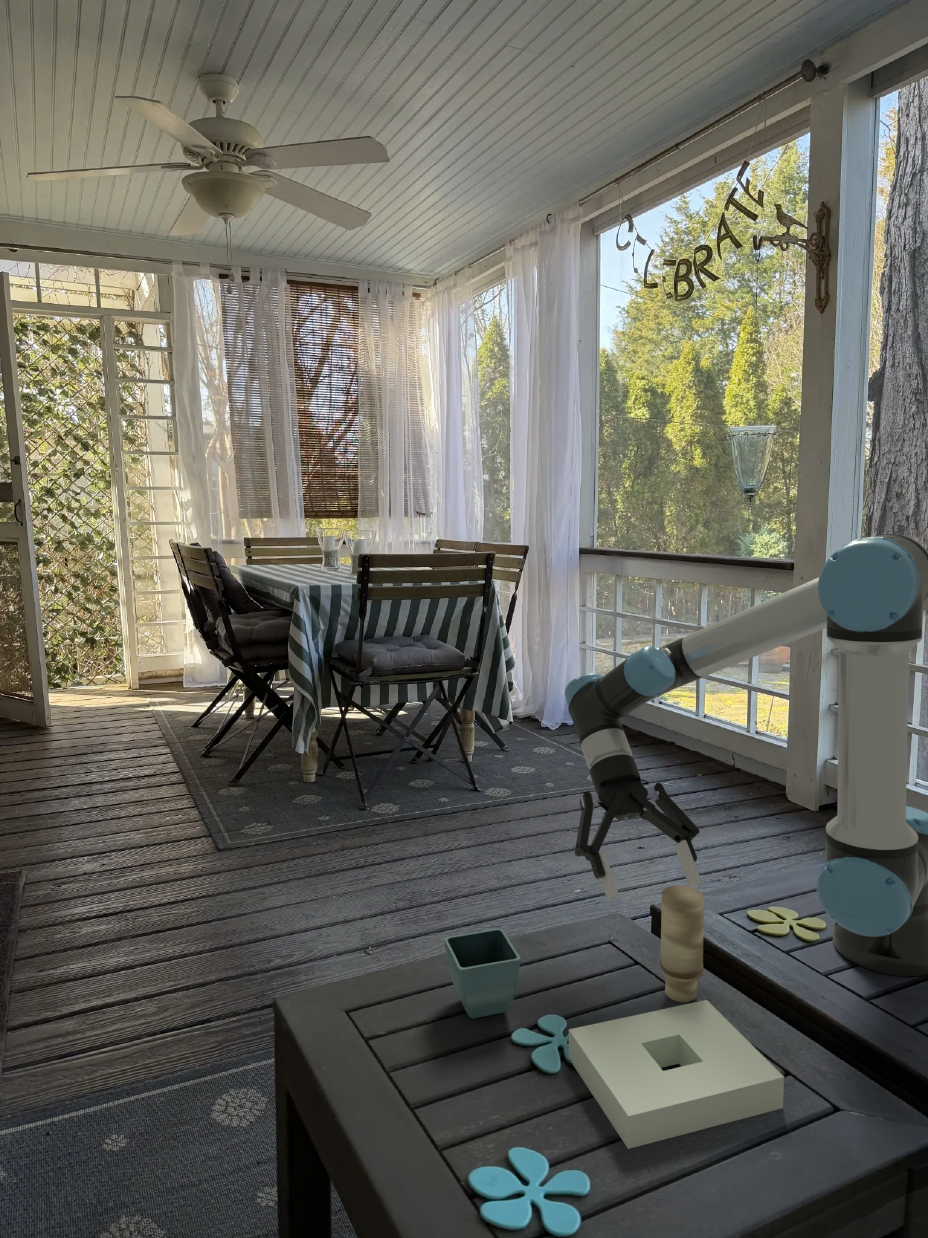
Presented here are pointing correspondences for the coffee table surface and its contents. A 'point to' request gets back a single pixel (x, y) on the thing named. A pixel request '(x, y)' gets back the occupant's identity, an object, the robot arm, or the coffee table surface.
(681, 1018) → the sage board
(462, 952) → the flower pot
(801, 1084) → the coffee table surface
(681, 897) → the tan wooden cylinder
